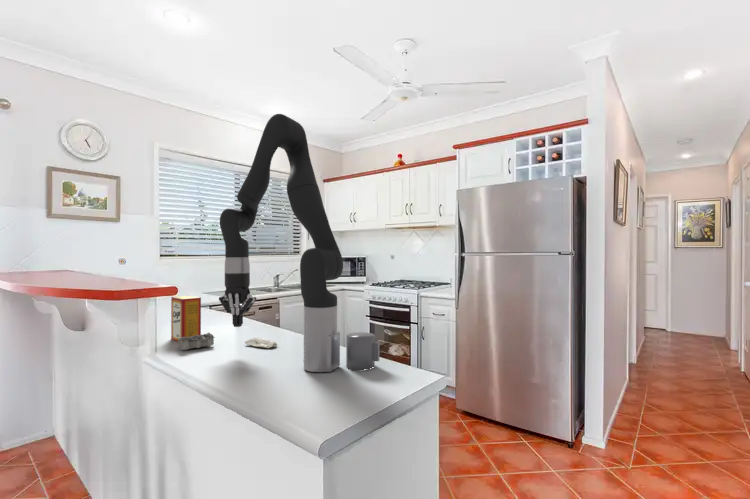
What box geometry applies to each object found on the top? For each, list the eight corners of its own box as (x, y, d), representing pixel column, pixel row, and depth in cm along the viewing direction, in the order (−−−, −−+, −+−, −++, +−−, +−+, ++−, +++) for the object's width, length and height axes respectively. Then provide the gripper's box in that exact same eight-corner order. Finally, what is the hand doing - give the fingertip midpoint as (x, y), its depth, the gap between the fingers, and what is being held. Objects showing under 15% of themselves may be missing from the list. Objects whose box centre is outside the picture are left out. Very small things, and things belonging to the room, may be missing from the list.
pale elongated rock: (242, 343, 134) (249, 332, 137) (250, 349, 138) (256, 339, 140) (268, 349, 128) (274, 338, 131) (275, 356, 132) (282, 345, 134)
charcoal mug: (382, 365, 113) (383, 333, 113) (374, 373, 106) (374, 339, 106) (352, 362, 116) (352, 331, 116) (341, 369, 109) (341, 337, 109)
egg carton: (180, 350, 126) (179, 338, 126) (177, 347, 132) (176, 335, 132) (215, 345, 132) (215, 333, 132) (211, 342, 138) (210, 330, 138)
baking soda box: (171, 339, 145) (171, 296, 145) (189, 336, 150) (189, 294, 150) (182, 343, 139) (182, 298, 139) (200, 340, 144) (200, 296, 144)
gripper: (262, 271, 127) (262, 325, 127) (227, 271, 131) (228, 323, 131) (247, 272, 120) (248, 329, 119) (211, 272, 124) (212, 327, 124)
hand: (237, 326), depth 125 cm, fingers closed
